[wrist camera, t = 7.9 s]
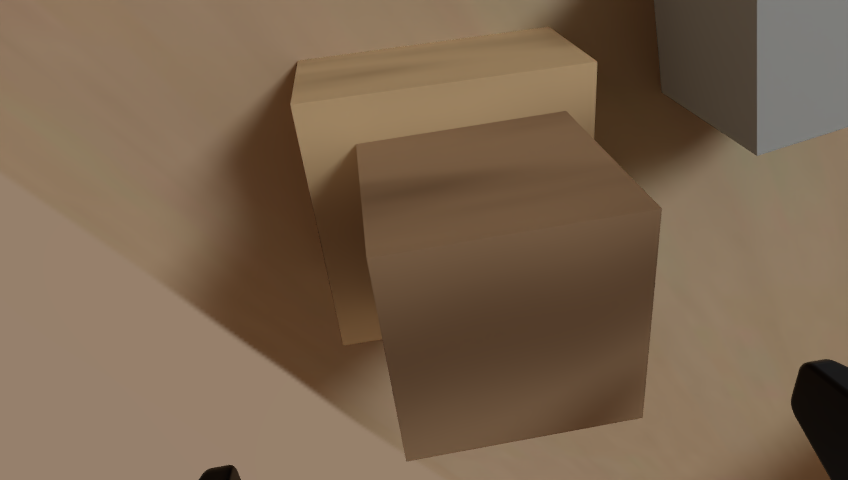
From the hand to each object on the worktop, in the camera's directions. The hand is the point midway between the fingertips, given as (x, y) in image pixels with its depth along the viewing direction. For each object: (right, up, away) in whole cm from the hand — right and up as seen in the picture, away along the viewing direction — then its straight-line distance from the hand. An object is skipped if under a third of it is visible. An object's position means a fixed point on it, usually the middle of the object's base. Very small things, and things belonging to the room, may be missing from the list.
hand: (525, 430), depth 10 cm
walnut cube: (0, +3, +6) cm, 7 cm away
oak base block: (-1, +6, +9) cm, 11 cm away
